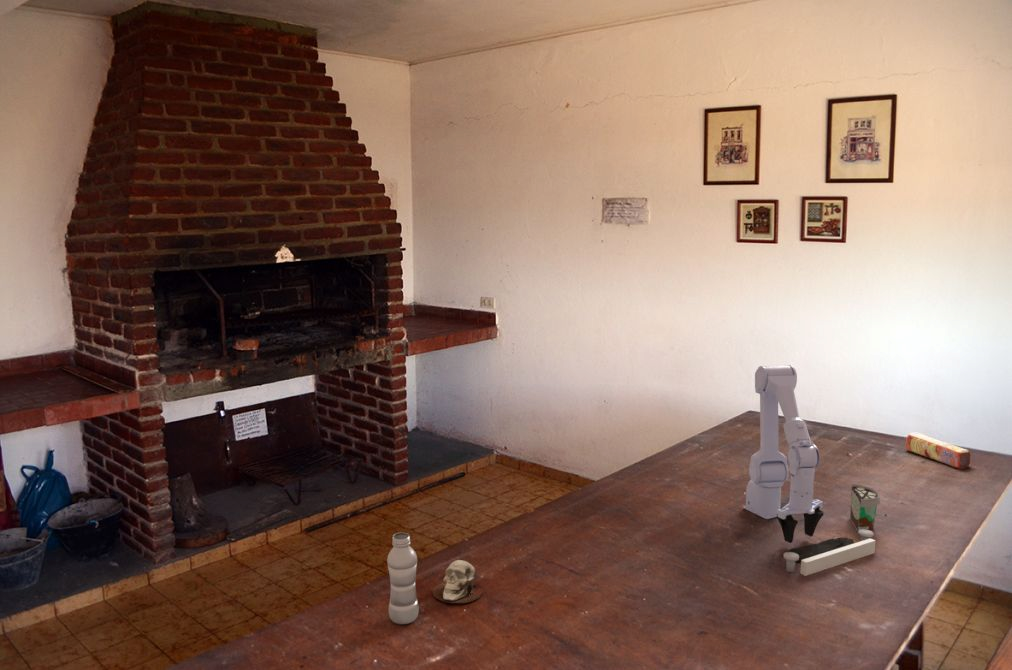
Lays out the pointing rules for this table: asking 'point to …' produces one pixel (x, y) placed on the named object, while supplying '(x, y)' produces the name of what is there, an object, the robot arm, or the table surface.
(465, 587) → the skull
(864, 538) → the cream long bar
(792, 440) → the robot arm
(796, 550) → the wood
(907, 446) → the snack package
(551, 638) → the table surface
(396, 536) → the plastic bottle
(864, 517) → the food container
